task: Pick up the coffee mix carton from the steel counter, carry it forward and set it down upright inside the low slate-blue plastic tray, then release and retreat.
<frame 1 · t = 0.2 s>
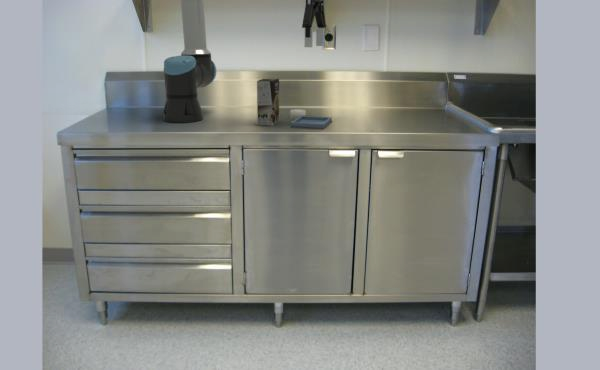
hand: (314, 46, 184), 27 cm above the countertop, fingers open, 13 cm apart
white small block: (297, 119, 195), on the countertop
tray: (311, 124, 184), on the countertop
coffee box: (268, 123, 186), on the countertop
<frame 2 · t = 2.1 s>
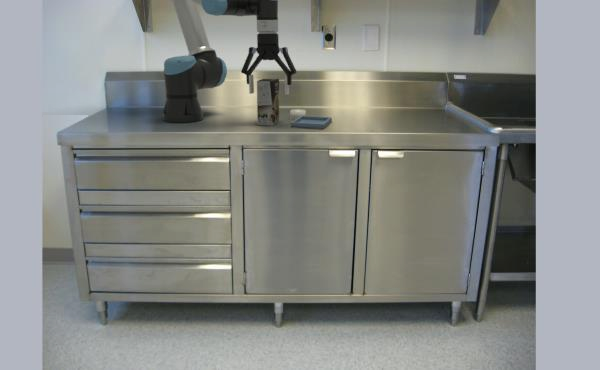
hand: (269, 93, 182), 11 cm above the countertop, fingers open, 13 cm apart
nothing on the countertop moved.
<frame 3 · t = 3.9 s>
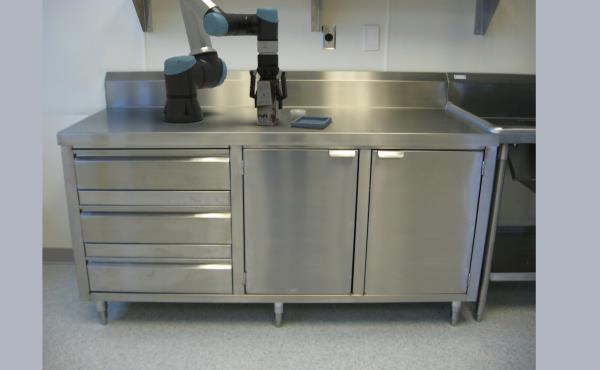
hand: (268, 117, 185), 2 cm above the countertop, fingers closed on coffee box, 7 cm apart
coffee box: (268, 123, 186), on the countertop, touching gripper
everything else where it was.
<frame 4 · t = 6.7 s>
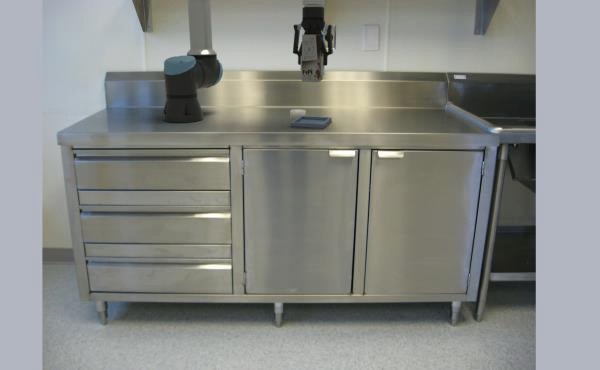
hand: (312, 74, 178), 18 cm above the countertop, fingers closed on coffee box, 7 cm apart
coffee box: (312, 81, 179), point 16 cm above the countertop, touching gripper
everything else where it was.
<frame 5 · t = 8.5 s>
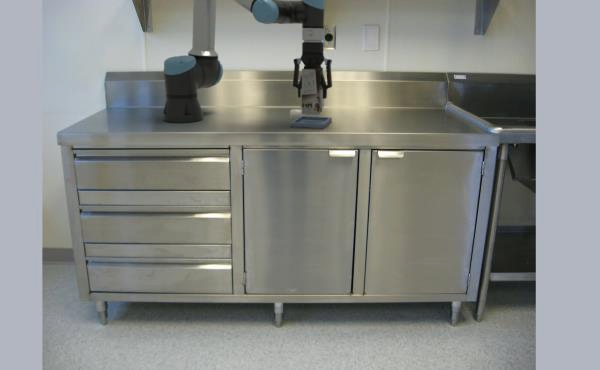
hand: (312, 107, 182), 7 cm above the countertop, fingers closed on coffee box, 7 cm apart
coffee box: (312, 113, 182), point 4 cm above the countertop, touching gripper
everything else where it was.
when the fingers open (4 cm above the countertop, at t = 9.9 s): coffee box drops 1 cm, resting on tray.
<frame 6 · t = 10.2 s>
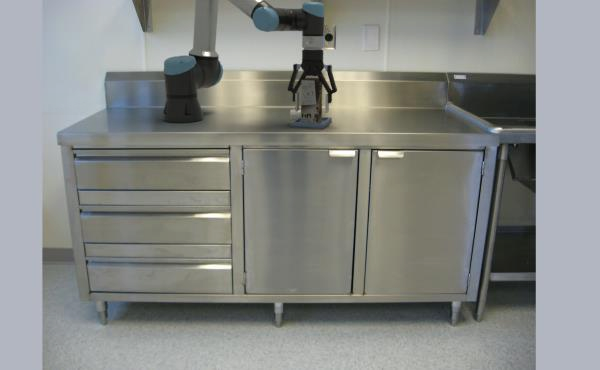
hand: (311, 111, 182), 5 cm above the countertop, fingers open, 10 cm apart
coffee box: (311, 123, 184), resting on tray
everything else where it was.
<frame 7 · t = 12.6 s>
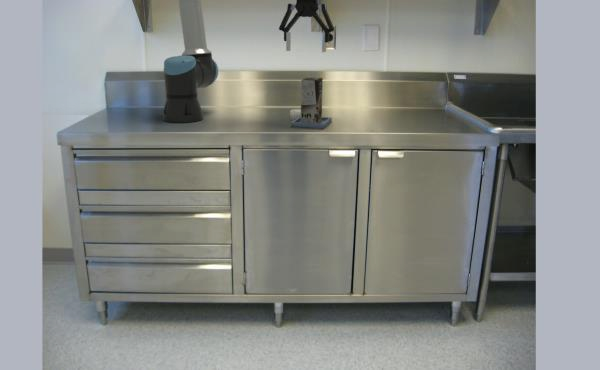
hand: (305, 51, 183), 26 cm above the countertop, fingers open, 13 cm apart
nothing on the countertop moved.
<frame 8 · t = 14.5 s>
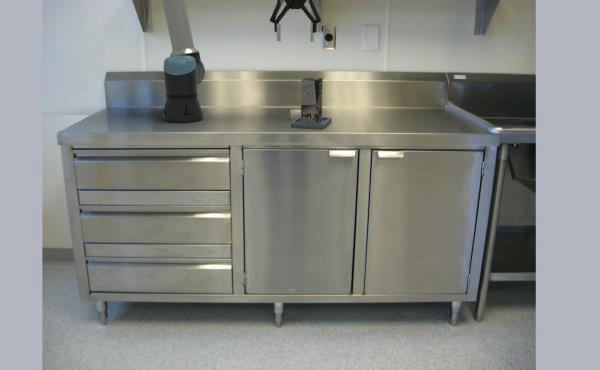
hand: (295, 41, 196), 29 cm above the countertop, fingers open, 13 cm apart
nothing on the countertop moved.
at the end: coffee box 0.1 cm from the tray (horizontally); coffee box tilted 0°; the gripper is holding nothing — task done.
